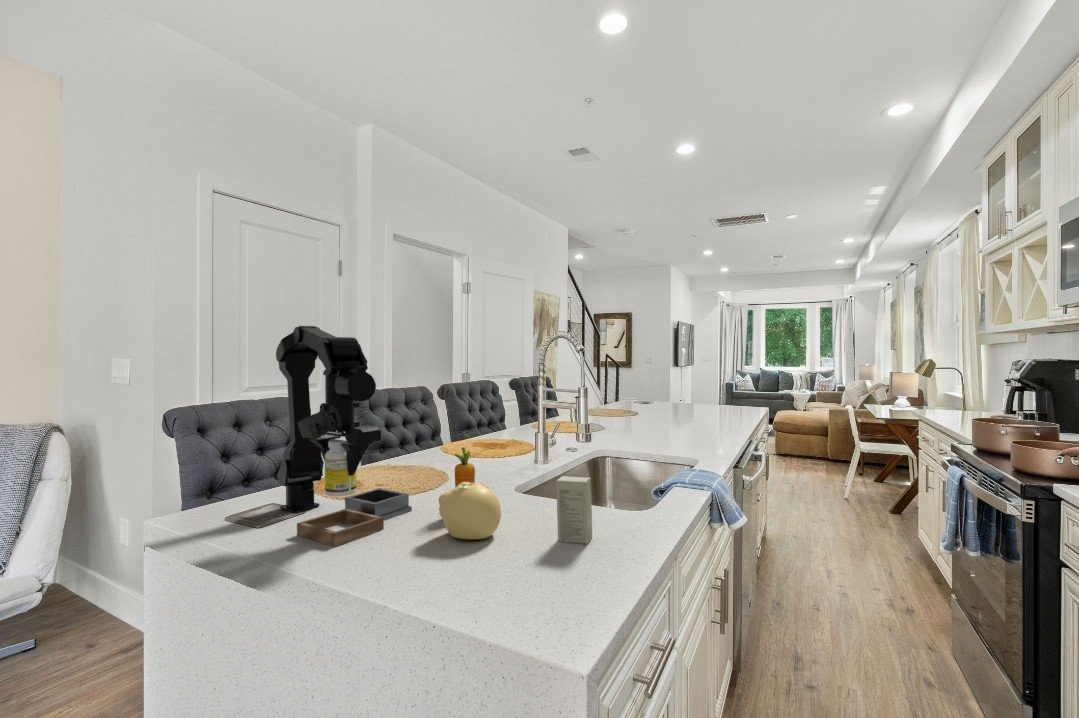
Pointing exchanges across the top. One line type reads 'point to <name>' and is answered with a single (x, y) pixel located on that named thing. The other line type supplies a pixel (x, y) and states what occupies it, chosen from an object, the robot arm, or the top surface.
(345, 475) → the pill bottle
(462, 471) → the carrot
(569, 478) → the skincare box
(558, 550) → the top surface
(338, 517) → the walnut collar
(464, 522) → the sculpture
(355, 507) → the dark metal seat block
